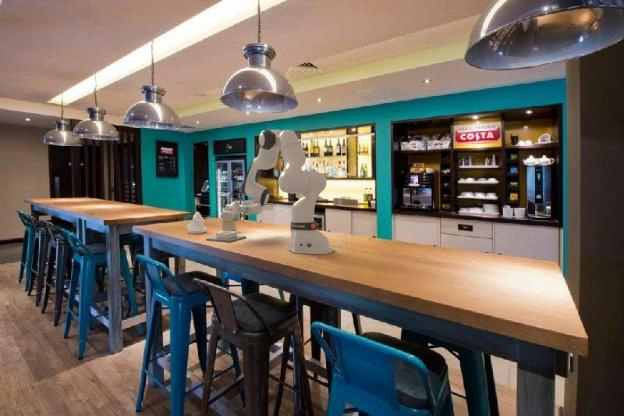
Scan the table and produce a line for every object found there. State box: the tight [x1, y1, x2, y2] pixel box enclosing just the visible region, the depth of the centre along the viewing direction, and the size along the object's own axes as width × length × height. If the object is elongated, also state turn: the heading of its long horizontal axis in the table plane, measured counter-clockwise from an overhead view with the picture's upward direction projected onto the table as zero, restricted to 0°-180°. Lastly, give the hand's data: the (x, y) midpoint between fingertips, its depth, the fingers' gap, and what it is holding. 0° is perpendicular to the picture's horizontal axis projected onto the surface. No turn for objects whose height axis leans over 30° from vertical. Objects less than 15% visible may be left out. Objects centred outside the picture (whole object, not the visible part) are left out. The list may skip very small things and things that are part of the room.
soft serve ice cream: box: [186, 211, 208, 234], centre depth 229 cm, size 12×15×14 cm
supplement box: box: [221, 210, 237, 232], centre depth 233 cm, size 8×5×13 cm, turn 84°
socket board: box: [205, 230, 247, 243], centre depth 204 cm, size 16×16×4 cm
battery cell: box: [231, 200, 241, 222], centre depth 198 cm, size 4×4×11 cm
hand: (234, 209), depth 197 cm, fingers closed on battery cell, 4 cm apart
